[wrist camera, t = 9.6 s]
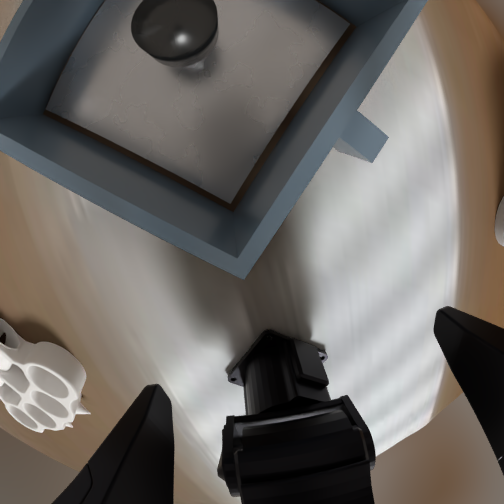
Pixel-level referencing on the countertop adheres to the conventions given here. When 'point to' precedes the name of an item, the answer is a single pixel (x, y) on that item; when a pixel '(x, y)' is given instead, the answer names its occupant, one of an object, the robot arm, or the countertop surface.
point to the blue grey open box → (164, 188)
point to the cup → (500, 223)
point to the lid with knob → (195, 80)
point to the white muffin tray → (39, 382)
